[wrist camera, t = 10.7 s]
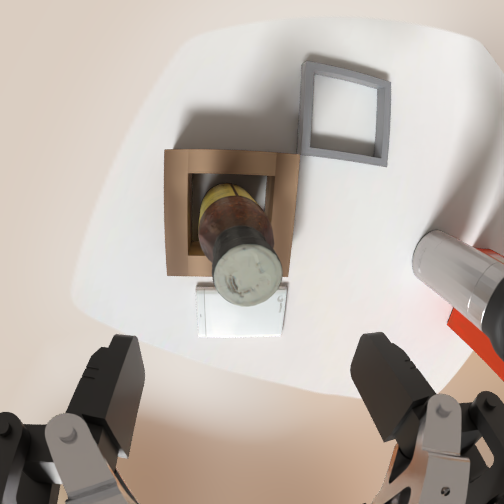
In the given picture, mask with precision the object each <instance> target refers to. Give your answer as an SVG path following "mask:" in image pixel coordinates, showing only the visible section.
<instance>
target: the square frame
mask: <svg viewBox="0 0 504 504" xmlns="http://www.w3.org/2000/svg"><path fill="white" fill-rule="evenodd" d="M314 74H317V75H322V76H327V77H332V78H336V79H341V80H345V81H349V82H353V83H357V84H361V85H365V86H368V87H372V88H375V89H377V120H376V137H375V150H374V157H370V156H365V155H359V154H353V153H347V152H340V151H333V150H326V149H319V148H310V139H311V123H312V106H313V84H314ZM390 115H391V82H388V81H385V80H382V79H379V78H376V77H373V76H369V75H366V74H363V73H359V72H355V71H351V70H348V69H344V68H339V67H335V66H331V65H326V64H321V63H316V62H311V61H305V62H304V63H303V64H302V67H301V90H300V109H299V126H298V142H297V154H299V155H307V156H316V157H324V158H332V159H339V160H346V161H353V162H359V163H365V164H371V165H377V166H383V167H387V160H388V149H389V135H390Z"/></svg>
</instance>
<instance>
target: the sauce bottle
mask: <svg viewBox="0 0 504 504" xmlns="http://www.w3.org/2000/svg"><path fill="white" fill-rule="evenodd" d="M198 236H199V242H200V245H201V248H202V251H203V252H204V254H205V256H206V257H207V258H208V260H209V261H211V262H212V277H213V282H214V286H215V288H216V290H217V291H218V293H219V294H220V295H221V296H222V297H223V298H224V299H225V300H227V301H228V302H230V303H232V304H234V305H238V306H242V307H249V306H255V305H257V304H260V303H262V302H265V301H267V300H268V299H269V298H270V297H271V296H272V295H273V294H274V293H275V292H276V291H277V290H278V288H279V285H280V283H281V281H282V276H283V270H282V265H281V262H280V260H279V257H278V255H277V254H276V252H275V250H274V249H273V248H274V236H273V229H272V225H271V223H270V221H269V219H268V217H267V216H266V214H265V213H264V211H263V210H262V208H261V207H260V206H259V205H258V204H257V202H256V201H255V200H254V199H253V198H252V197H251V196H250V195H249V194H248V193H247V191H246V190H244V189H243V188H242V187H240V186H238V185H235V184H231V183H224V184H220V185H218V186H215V187H213V188H212V189H210V190H209V191H208V192H207V194H206V195H205V197H204V198H203V200H202V204H201V208H200V218H199V226H198Z"/></svg>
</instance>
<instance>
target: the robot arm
mask: <svg viewBox="0 0 504 504" xmlns="http://www.w3.org/2000/svg"><path fill="white" fill-rule="evenodd" d="M412 267H413V272H414V274H415V276H416V277H417V278H418V279H419V280H421V281H422V282H423V283H425V284H426V285H427V286H428V287H430V288H431V289H432V290H433V291H435V292H436V293H437V294H438V295H440V296H441V297H442V298H443V299H444V300H446V301H447V302H448V303H449V304H451V305H452V306H453V307H454V308H455V309H456V310H458V311H459V312H460V313H461V314H462V315H464V316H465V317H466V318H467V319H468V320H469V321H470V322H472V323H473V324H474V325H475V326H476V327H477V328H479V329H480V330H481V331H482V332H483V333H484V334H485V335H486V336H487V337H488V338H489V339H490V342H491V344H492V347H493V349H494V350H495V352H496V353H497V355H498V356H499V357H500V358H501V359H502V361H503V362H504V264H502V263H500V262H499V261H497V260H495V259H493V258H492V257H490V256H488V255H486V254H485V253H483V252H481V251H479V250H477V249H475V248H474V247H472V246H470V245H468V244H466V243H464V242H462V241H460V240H458V239H457V238H455V237H453V236H451V235H448V234H446V233H444V232H442V231H440V230H434V231H431V232H429V233H428V234H426V235H425V236H424V237H423V238H422V239H421V241H420V242H419V244H418V245H417V247H416V249H415V252H414V255H413V261H412ZM350 372H351V377H352V380H353V382H354V384H355V386H356V388H357V389H358V391H359V393H360V395H361V397H362V399H363V401H364V403H365V405H366V407H367V409H368V411H369V413H370V415H371V417H372V419H373V421H374V423H375V425H376V427H377V429H378V431H379V433H380V435H381V437H382V439H383V441H384V442H387V441H390V440H393V439H396V441H397V444H396V445H395V447H394V450H393V454H392V457H391V461H390V464H389V468H388V471H387V474H386V477H385V480H384V483H383V486H382V488H381V490H380V491H379V493H378V494H377V495H376V497H375V498H374V500H373V502H372V503H371V504H504V404H503V402H502V401H501V400H500V398H499V397H498V396H497V395H495V394H494V393H492V392H489V391H483V392H481V393H479V394H478V395H477V397H476V398H475V400H474V401H473V402H471V403H458V402H457V401H456V400H455V399H454V398H453V397H451V396H449V395H446V394H436V393H435V391H434V390H433V389H432V387H431V386H430V385H429V383H428V382H427V381H426V379H425V378H424V377H423V375H422V374H421V373H420V371H419V370H418V369H417V368H416V366H415V365H414V363H413V362H412V361H410V358H409V357H408V355H407V354H406V353H405V352H404V350H402V349H401V348H399V347H398V346H397V345H395V344H394V343H391V342H390V341H389V339H388V338H387V337H386V336H385V334H384V333H382V332H376V333H367V334H363V335H362V336H361V338H360V340H359V343H358V346H357V349H356V352H355V355H354V357H353V360H352V363H351V368H350ZM144 381H145V370H144V365H143V361H142V356H141V352H140V347H139V342H138V339H137V337H136V336H130V335H118V334H116V335H114V337H113V339H112V341H111V343H110V345H109V347H108V348H106V347H101V348H100V349H99V350H98V351H96V352H95V353H94V354H93V355H92V356H91V358H90V360H89V362H88V364H87V366H86V369H85V371H84V373H83V375H82V378H81V379H80V381H79V384H78V386H77V388H76V390H75V392H74V395H73V397H72V399H71V402H70V404H69V406H68V409H67V411H66V413H63V414H59V415H56V416H55V417H53V418H52V419H51V420H50V421H49V422H48V424H46V425H32V424H31V425H30V424H23V423H22V422H21V421H20V419H19V418H18V417H17V416H16V415H14V414H13V413H10V412H2V413H0V504H57V500H58V495H59V488H60V484H63V486H64V488H65V490H66V493H67V495H68V499H67V500H66V501H65V503H66V504H140V503H139V502H138V500H137V499H136V497H135V496H134V494H133V493H132V492H131V490H130V489H129V487H128V486H127V484H126V482H125V481H124V479H123V478H122V476H121V475H120V473H119V471H118V470H117V468H116V463H117V457H122V458H128V457H129V452H130V446H131V441H132V436H133V431H134V426H135V422H136V417H137V412H138V408H139V403H140V399H141V395H142V391H143V387H144ZM481 437H483V438H484V440H485V442H486V443H487V445H488V447H489V448H490V450H491V452H492V454H493V455H494V463H493V465H492V466H491V468H489V467H487V466H486V464H485V461H484V460H483V458H482V456H481V454H480V453H479V451H478V449H477V447H476V446H475V443H476V442H477V441H478V440H479V439H480V438H481ZM364 504H366V503H364Z"/></svg>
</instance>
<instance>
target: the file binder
mask: <svg viewBox="0 0 504 504" xmlns="http://www.w3.org/2000/svg"><path fill="white" fill-rule="evenodd" d="M475 249H477V250H479V251H481V252H483V253H485V254H486V255H488V256H490V257H492V258H493V259H495V260H497V261H499V262H500V263H502V264H504V256H502V255H500V254H498V253H496V252H495V251H493V250H491V249H480V248H475ZM447 325H448V326H449V327H450V328H451V329H452V330H453V331H454V332H455V333H456V334H457V335H458V336H459V337H460V338H461V339H463V340H464V341H465V342H466V343H467V344H468V345H469V346H470V347H471V348H472V349H473V350H474V351H475V352H476V353H477V354H478V355H479V356H480V357H481V358H482V359H483V360H484V361H485V362H486V363H487V364H488V365H489V366H490V367H491V369H492V370H493V371H494V372H495V373H496V374H497V375H498V376H499V377H500V378H501V379H502V380H503V381H504V362H503V361H502V359H501V358H500V357H499V356H498V355H497V353H496V352H495V350H494V349H493V347H492V344H491V342H490V339H489V338H488V337H487V336H486V335H485V334H484V333H483V332H482V331H481V330H480V329H479V328H477V327H476V326H475V325H474V324H473V323H472V322H470V321H469V320H468V319H467V318H466V317H465V316H464V315H462V314H461V313H460V312H459V311H458V310H456V309H455V308H453V311H452V313H451V316H450V318H449V321H448V323H447Z"/></svg>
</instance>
